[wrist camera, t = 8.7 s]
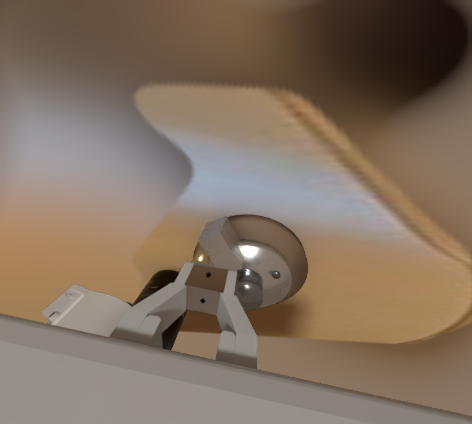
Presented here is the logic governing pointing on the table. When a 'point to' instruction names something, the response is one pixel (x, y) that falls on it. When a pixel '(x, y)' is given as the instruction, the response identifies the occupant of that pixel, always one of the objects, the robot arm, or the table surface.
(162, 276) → the supplement bottle
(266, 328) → the table surface
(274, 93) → the table surface
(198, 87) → the table surface
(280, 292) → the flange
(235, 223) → the walnut base
